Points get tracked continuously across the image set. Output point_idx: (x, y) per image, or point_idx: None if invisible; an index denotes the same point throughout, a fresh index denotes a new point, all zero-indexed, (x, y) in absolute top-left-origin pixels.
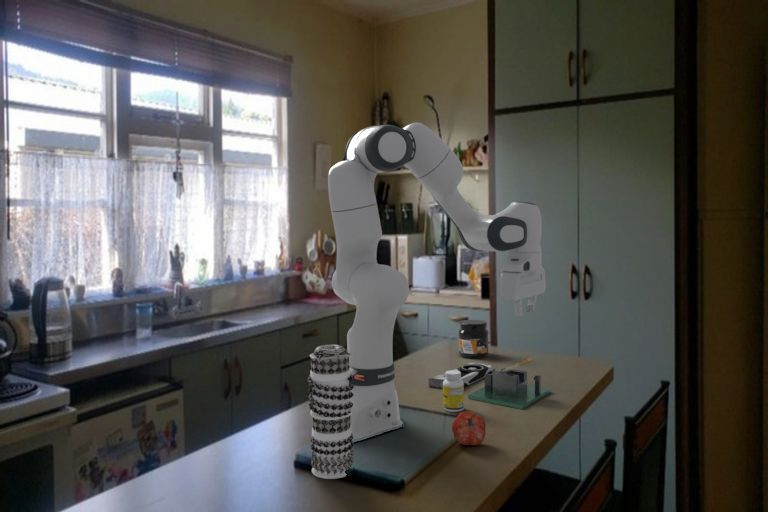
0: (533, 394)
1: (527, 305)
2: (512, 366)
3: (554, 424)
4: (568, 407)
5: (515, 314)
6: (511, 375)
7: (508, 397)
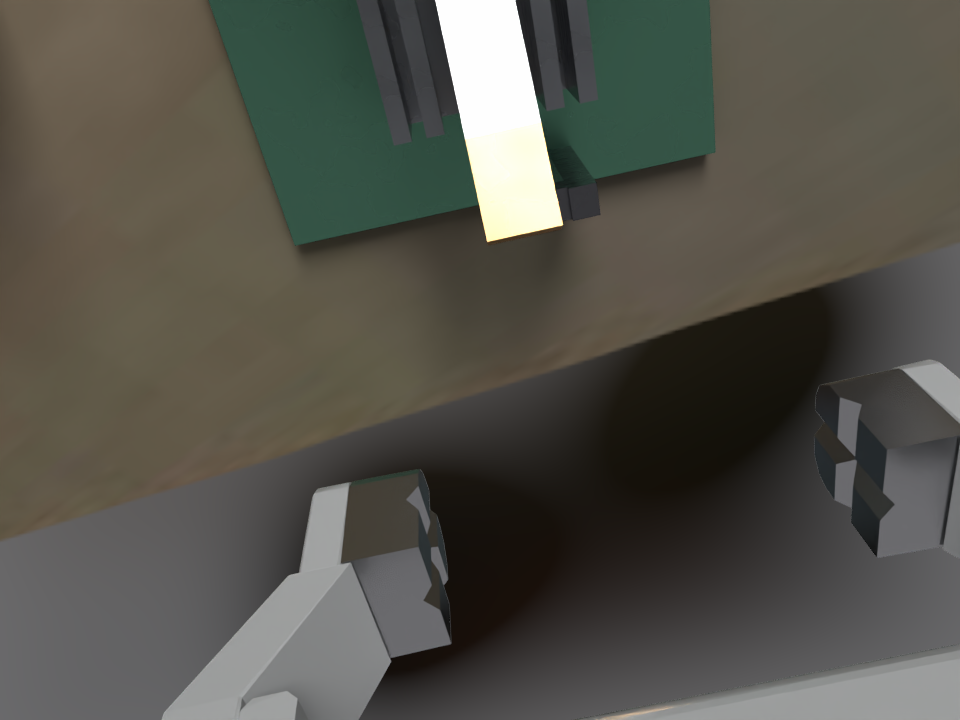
0: None
1: (906, 462)
2: (452, 71)
3: (256, 460)
4: (517, 369)
5: (317, 502)
6: (398, 91)
7: (348, 79)
